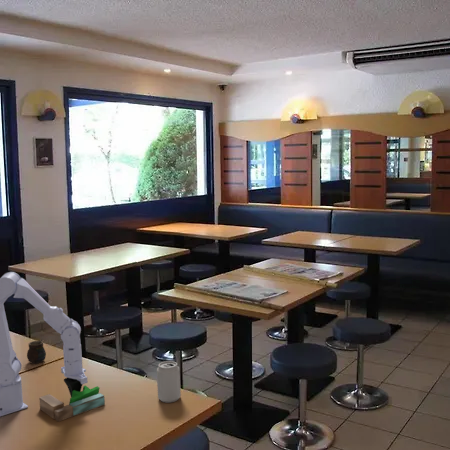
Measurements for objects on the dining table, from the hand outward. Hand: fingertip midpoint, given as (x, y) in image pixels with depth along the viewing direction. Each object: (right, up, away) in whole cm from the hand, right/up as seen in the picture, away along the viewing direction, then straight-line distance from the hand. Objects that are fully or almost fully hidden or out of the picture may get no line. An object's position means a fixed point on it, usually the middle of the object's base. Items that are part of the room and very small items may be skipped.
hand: (75, 398), depth 181 cm
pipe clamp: (+2, -1, -1) cm, 3 cm away
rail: (+4, -2, -7) cm, 8 cm away
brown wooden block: (-6, -2, -7) cm, 9 cm away
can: (+31, 0, 0) cm, 31 cm away
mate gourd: (-26, +2, +39) cm, 47 cm away
